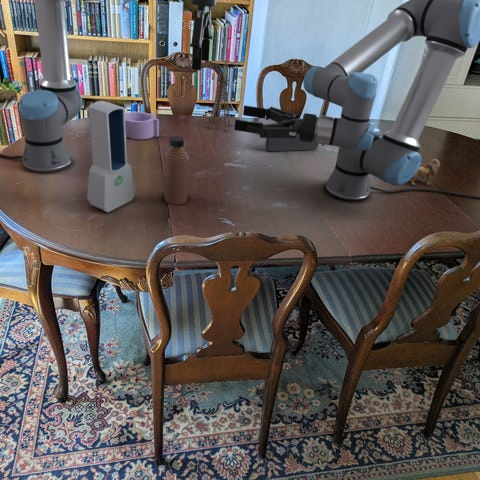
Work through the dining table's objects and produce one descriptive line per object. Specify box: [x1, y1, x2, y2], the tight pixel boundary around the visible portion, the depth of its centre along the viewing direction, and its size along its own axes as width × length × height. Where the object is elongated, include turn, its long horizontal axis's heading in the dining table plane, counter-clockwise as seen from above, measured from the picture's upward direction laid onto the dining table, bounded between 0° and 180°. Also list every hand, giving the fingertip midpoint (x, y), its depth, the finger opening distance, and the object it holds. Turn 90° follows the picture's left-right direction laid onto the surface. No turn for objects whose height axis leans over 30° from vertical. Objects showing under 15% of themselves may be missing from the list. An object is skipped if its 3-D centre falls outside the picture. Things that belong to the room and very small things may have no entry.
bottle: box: [163, 146, 190, 205], centre depth 142 cm, size 7×7×20 cm
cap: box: [169, 135, 185, 147], centre depth 137 cm, size 4×4×2 cm
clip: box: [125, 111, 160, 140], centre depth 188 cm, size 20×12×7 cm, turn 109°
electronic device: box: [86, 100, 135, 213], centre depth 133 cm, size 12×8×30 cm, turn 148°
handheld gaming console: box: [264, 134, 319, 152], centre depth 189 cm, size 23×3×10 cm, turn 108°
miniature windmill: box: [207, 57, 231, 131], centre depth 198 cm, size 9×8×30 cm
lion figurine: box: [409, 158, 441, 186], centre depth 172 cm, size 15×5×9 cm, turn 110°
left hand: (200, 65), depth 149 cm, fingers open, 13 cm apart
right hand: (239, 117), depth 129 cm, fingers open, 13 cm apart
